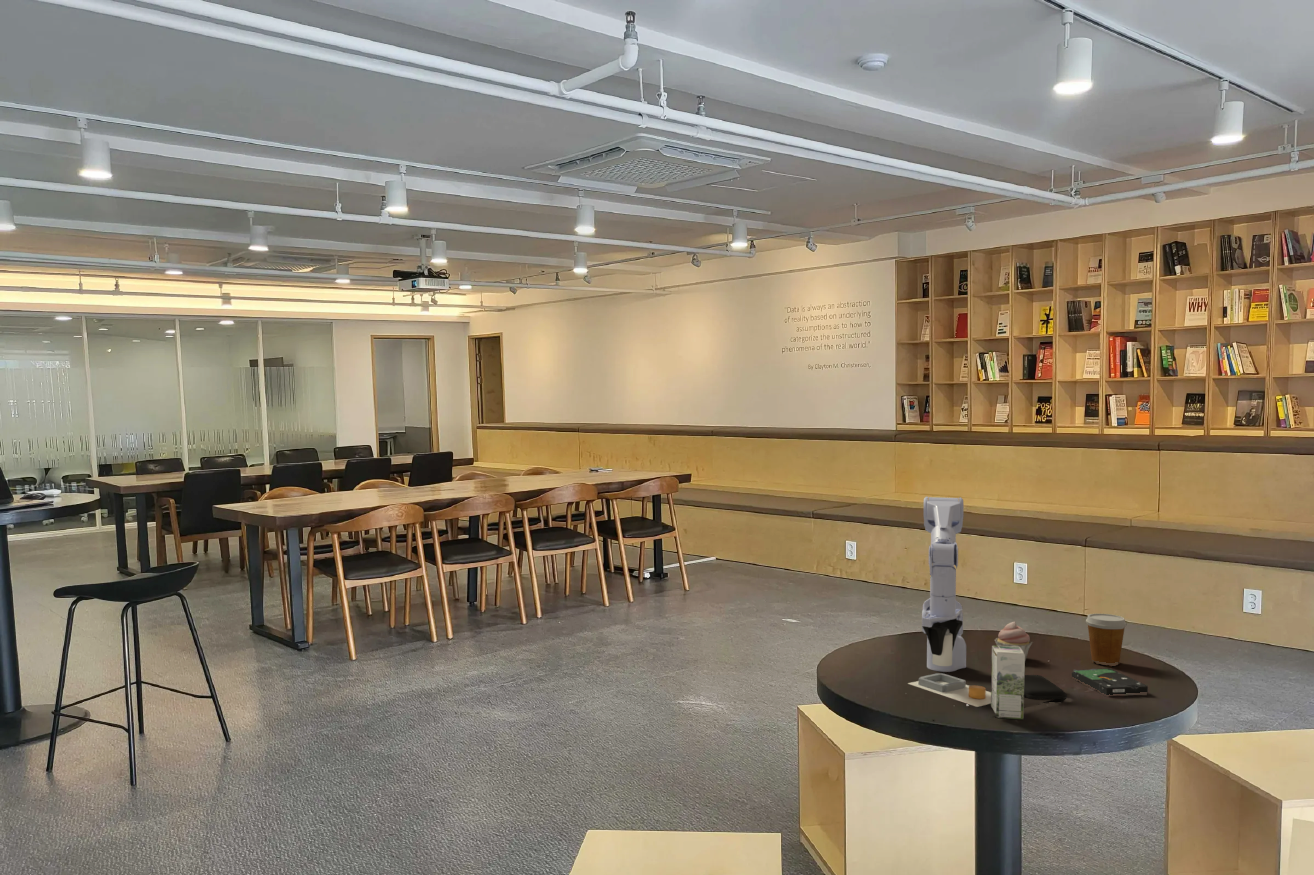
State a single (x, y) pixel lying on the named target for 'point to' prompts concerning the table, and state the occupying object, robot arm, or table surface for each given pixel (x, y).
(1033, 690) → the carrying case or bag
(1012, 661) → the syrup box
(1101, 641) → the disposable coffee cup
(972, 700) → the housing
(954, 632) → the robot arm
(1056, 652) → the table surface
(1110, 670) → the disk drive
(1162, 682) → the table surface
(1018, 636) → the cupcake
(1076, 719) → the table surface
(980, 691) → the orange short cylinder
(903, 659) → the table surface
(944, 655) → the cylinder
